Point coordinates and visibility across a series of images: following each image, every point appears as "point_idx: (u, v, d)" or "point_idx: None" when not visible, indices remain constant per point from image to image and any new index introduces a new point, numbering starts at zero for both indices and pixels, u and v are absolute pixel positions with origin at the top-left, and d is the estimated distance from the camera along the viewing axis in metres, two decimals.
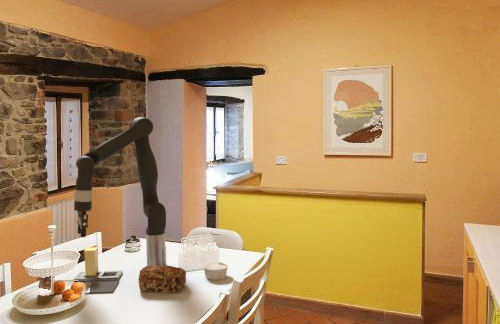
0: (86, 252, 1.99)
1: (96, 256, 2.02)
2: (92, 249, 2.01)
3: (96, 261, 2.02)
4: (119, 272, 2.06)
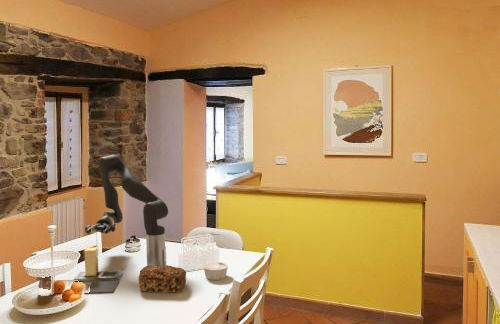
0: (86, 252, 1.99)
1: (96, 256, 2.02)
2: (92, 249, 2.01)
3: (96, 261, 2.02)
4: (119, 272, 2.06)
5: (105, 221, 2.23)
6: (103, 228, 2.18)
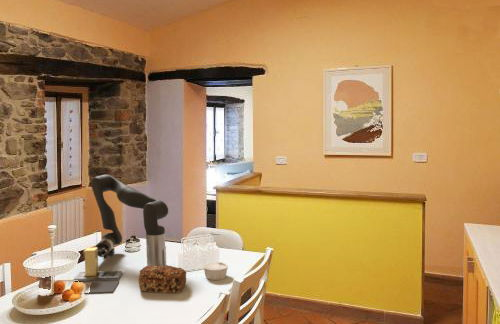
0: (86, 252, 1.99)
1: (96, 256, 2.02)
2: (92, 249, 2.01)
3: (96, 261, 2.02)
4: (119, 272, 2.06)
5: (104, 245, 2.20)
6: (102, 252, 2.15)
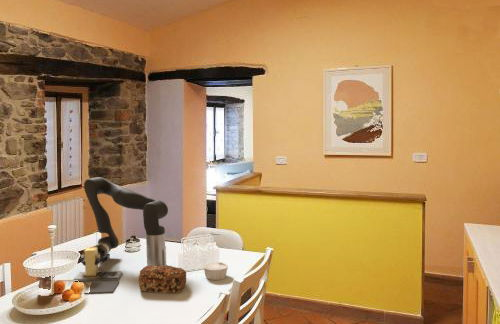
0: (86, 252, 1.99)
1: (96, 256, 2.02)
2: (92, 249, 2.01)
3: None
4: (119, 272, 2.06)
5: (99, 250, 2.12)
6: None
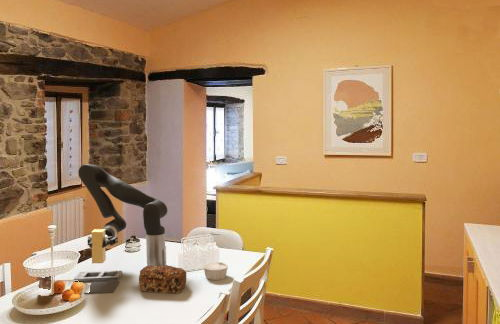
0: (93, 233, 1.86)
1: (104, 238, 1.89)
2: (100, 231, 1.88)
3: None
4: (119, 272, 2.06)
5: (107, 232, 1.99)
6: None
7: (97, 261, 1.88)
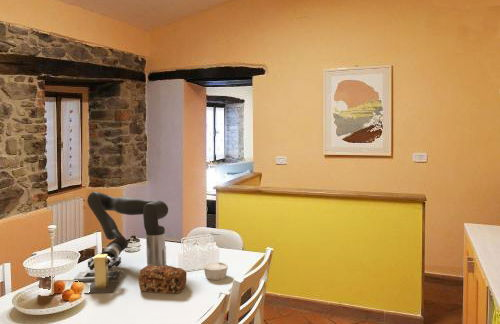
0: (96, 259, 1.87)
1: (106, 263, 1.90)
2: (102, 256, 1.89)
3: (106, 269, 1.90)
4: (119, 272, 2.06)
5: (109, 253, 1.99)
6: None
7: (100, 286, 1.88)
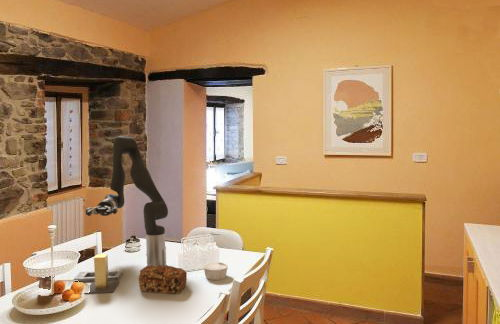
0: (96, 259, 1.87)
1: (106, 263, 1.90)
2: (102, 256, 1.89)
3: (106, 269, 1.90)
4: (119, 272, 2.06)
5: (106, 203, 2.15)
6: (104, 210, 2.10)
7: (100, 286, 1.88)
